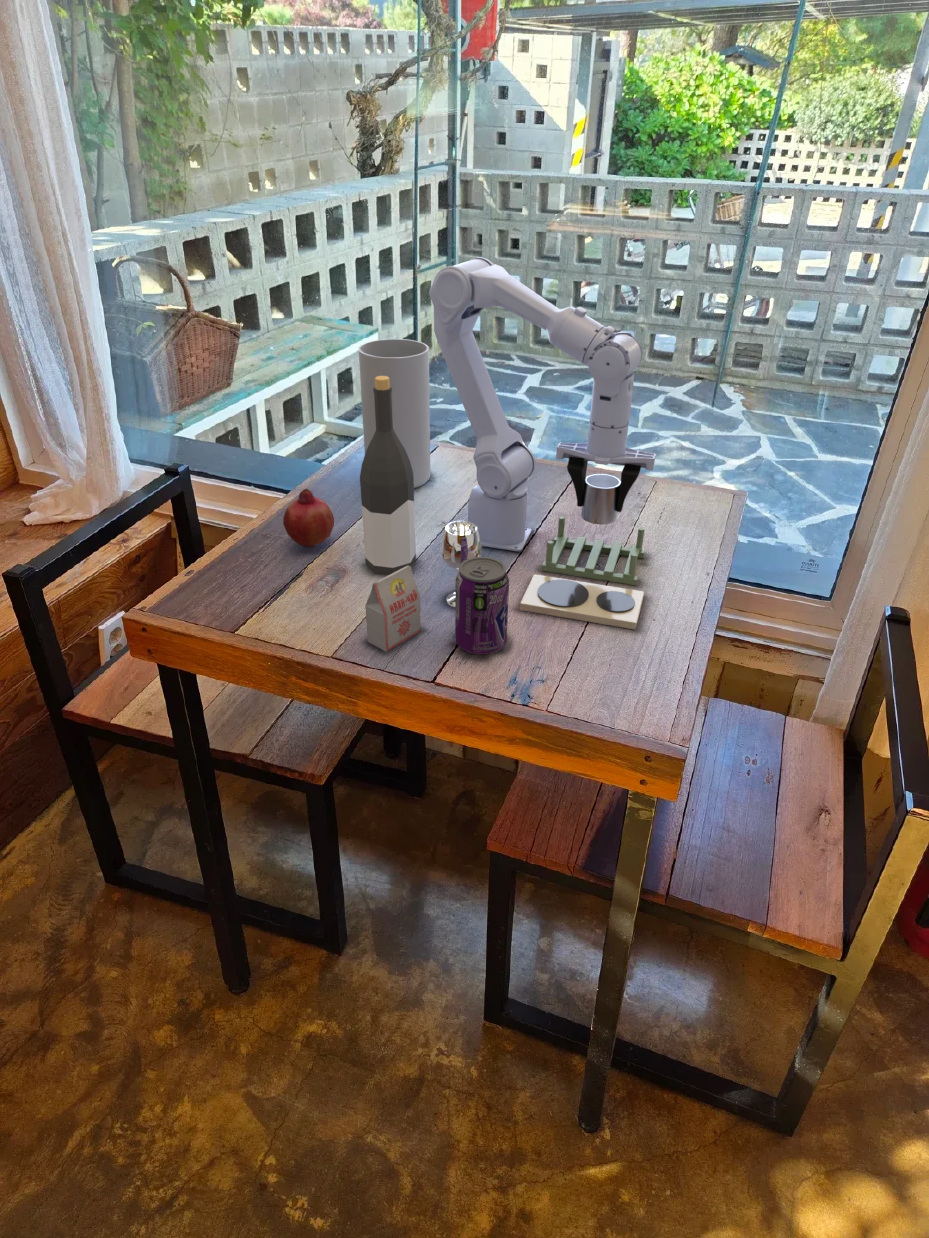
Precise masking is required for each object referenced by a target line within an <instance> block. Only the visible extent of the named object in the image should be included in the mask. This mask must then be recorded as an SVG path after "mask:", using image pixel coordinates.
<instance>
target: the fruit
mask: <svg viewBox="0 0 929 1238" xmlns="http://www.w3.org/2000/svg"><path fill="white" fill-rule="evenodd" d="M282 525H283V527H284V530H285V531H286V532H285V533H286V534H287V535H288V536H289V538H290V539H291V540H292V541H293V542H295V543H297V544H298V545H299V546H301V547H304V548H305V547H306V548H308V547H314V546H317V545H319V544H321V543H323V542H324V541H326V540H327V539H329V537H331V534H332V532H333V529H334V527H335V516H334V513H333V511H332V510H331V508H330V506H329V505H328V503H327V502H326V501H325V500H324V499H322V498H320V497H317V496H314V494H313V493H312V491H311V490H310V489H309V488H304V489H302V490H301V491H300V493H299V495H298V498H296V499H294V500H293V501H292V502H290V503H289V504H288V506H287V507H286V509H285V512H284V514H283V519H282Z"/></svg>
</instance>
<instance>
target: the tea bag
mask: <svg viewBox="0 0 929 1238" xmlns="http://www.w3.org/2000/svg"><path fill="white" fill-rule="evenodd" d="M413 574H414V573H413V571H412V569H411V566H409V565H408V566H406V567H404V568H402V569H400V570H398V571H396V572H394V573H392V574H390V575H385V576H384V577H383V578H381V579H379V580H377V581H375V582H373V583H372V585H371V590H370V593H369V596H368V598H367V600H366V603H365V605H364V607H365V621H366V623H365V625H366V637H367V642H368V643H369V644H371V645H373V646H375V647H377V648H378V649H380V650H382V651H383V652H389V651H390V650H392V649H394V648H395V647H397V646H399V645H401V644H402V643H404V642H406V641H407V640H409V639H410V638H412V637H414V636H416V635H417V634H418V633H421V631H422V628H421V627H422V626H421V625H422V624H421V595H420V592H419V589H418V586H417V583H416V580H415V577H414V575H413Z"/></svg>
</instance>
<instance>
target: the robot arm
mask: <svg viewBox="0 0 929 1238" xmlns="http://www.w3.org/2000/svg"><path fill="white" fill-rule="evenodd" d="M428 295H429V297H430V300H431V303H432V306H433V331H434V336H435V338H436V341H437V343H438V345H439V348H440V350H441V353H442V357H443V359H444V361H445V363H446V367H447V368H448V370H449V374H450V376H451V378H452V381H453V383H454V386H455V388H456V390H457V393H458V396H459V398H460V400H461V404H462V406H463V408H464V411H465V413H466V416H467V418H468V421H469V424H470V426H471V428H472V430H473V431H472V432H473V433H474V436H475V438H476V445H475V448H474V453H473V458H472V459H473V461H474V464H475V467H476V468H475V469H476V482H477V484H478V485H474V486H473V488H472V489H471V492H470V494H469V498H468V505H467V508H468V509H467V521H468V522H472V523H474V524H476V525H477V527H478V530H479V534H480V538H481V547H486V548H491V549H492V548H493V549H499V550H505V551H512V552H520V553H521V552H522V551H523V549H524V547H525V545H526V543H527V542H528V539H529V537H530V536H531V534H532V528H528V527H527V526H526V525H527V509H528V492H529V491H528V490H529V486H528V481H529V480H528V479H529V478H530V477H531V476H532V475H533V473H534V472H535V469H536V458H535V455H534V453H533V452H532V450H531V449H530V448H529V447H528V446H527V445H526V443H525V442H524V440H523V438H522V435H521V434H520V432H518V431H517V430H515V429H513V428H511V427H510V426H509V423H508V420H507V417H506V415H505V412H504V410H503V408H502V405H501V402H500V400H499V397H498V395H497V392H496V390H495V387H494V384H493V382H492V379H491V376H490V374H489V371H488V369H487V365H486V363H485V360H484V358H483V356H482V353H481V350H480V347H479V345H478V343H477V339H476V338H475V334H474V332H473V330H474V328H475V325H476V323H477V321H478V319H479V316H480V314H481V311H482V310H484V308H485V309H486V308H492V307H501V308H502V309H505V310H506V311H508V312H510V313H512V314H514V315H516V316H517V317H520V318H522V319H523V320H525V321H527V322H529V323H531V324H532V325H535V326H536V327H538V328H540V329H542V330H544V331H545V332H546V334H547V339H548V342H549V343H550V345H552V346H553V347H555V348H557V349H559V351H561V352H563V353H564V354H566V355H568V356H569V357H571V358H573V359H574V360H576V361H578V362H580V363H581V364H583V365H585V366H586V367H588V371H589V373H590V375H591V377H592V380H593V384H592V391H591V401H590V411H589V422H588V431H587V441H586V442H560V441H559V443H558V444H557V446H556V452H555V453H556V454H555V459H556V460H564V459H568V461H567V465H566V469H567V472H568V475H569V477H570V479H571V481H572V485H573V487H574V491H575V496H576V506H577V507H580V508H582V502H583V491H584V481H585V478H586V477H587V471H588V463H589V462H593V463H594V464H597V465H602V466H603V465H604V466H607V465H609V464H610V465H615V466H623V468H622V471H621V474H620V481H621V485H620V494H619V499H618V504H617V511H616V512H617V513H622V511H623V509H624V503H625V500H626V498H627V496H628V494H629V492H630V490H631V489H632V487H633V486H634V483H635V482H636V481H637V479H638V477H639V476H640V473H641V469H645V470H646V471H649V472H653V471H654V468H655V463H656V456H657V455H656V453H650V452H646V451H643V450H638V449H634V448H630V447H627V441H628V433H629V426H630V418H631V410H632V402H633V392H634V390H633V388H634V381H635V373H634V372H635V371H636V370H637V369H638V367H640V364H641V362H642V360H643V348H642V345H641V343H640V341H639V340H638V339H637V338H636V337H635V336H633V334H632V333H631V332H628V331H618V332H616V329H615V328H614V327H613V326H612V325H608V326H607V327H606V326H605V325H603V324H601V323H600V322H599V321H596V320H595V319H594V318H592V317H590V316H588V315H587V312H588V311H587V309H586V308H584V307H582V306H578V307H573V306H567V307H563V308H558V307H557V306H555V304H553V303H552V302H549V301H548V300H546V299H545V298H543V297H542V296H541V295H539V294H538V293H537V292H535V291H534V290H533V289H531V288H529V287H528V286H526V285H525V284H523V283H522V282H521V281H519V279H516V278H515V277H513V276H512V275H511V274H509V272H508V271H507V270H506V269H505V268H504V267H503V266H502V265H499V264H495V263H493V262H492V261H491V260H490V259H488V258H486V257H482V256H477V257H473V258H471V259H469V260H467V261H464V262H461V263H457V264H454V265H448V266H444V267H443V268H441V269H440V270H439V271H438V272H437V273H436V275H435V276H434V279H433V281H432V283H431V286H430V289H429V291H428Z"/></svg>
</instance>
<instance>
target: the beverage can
mask: <svg viewBox="0 0 929 1238" xmlns="http://www.w3.org/2000/svg"><path fill="white" fill-rule="evenodd" d="M458 571H459V573H458V572H457V574H456V576H455V583H454V584H455V587H454V588H455V590H454V593H455V607H454V608H455V609H454V610H455V611H454V622H455V623H454V625H455V626H454V639H455V640H454V641H455V643H456V645H457V647H459V648H460V649H461V650H463V651H465V652H468V653H471V654H475V655H488V654H493V653H496V652H499V651H500V650H502V649H503V648H504V647H505V646H506V644H507V642H508V622H509V621H508V619H509V598H510V596H509V595H510V577H509V575H508V573H507V566H506V565H505V564H504V562H502V561H501V560H499V559H497V558H495V557H490V556H481V557H474V558H470V559H467V560H465V561H463V562H462V563H461V564H460V566H459V570H458Z"/></svg>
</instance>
